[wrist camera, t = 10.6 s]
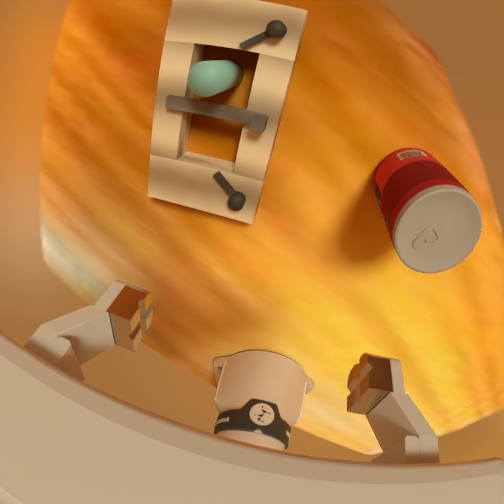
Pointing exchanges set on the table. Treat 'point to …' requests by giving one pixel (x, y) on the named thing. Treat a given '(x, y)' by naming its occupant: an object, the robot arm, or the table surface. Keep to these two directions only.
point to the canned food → (426, 211)
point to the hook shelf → (254, 117)
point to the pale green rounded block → (214, 77)
